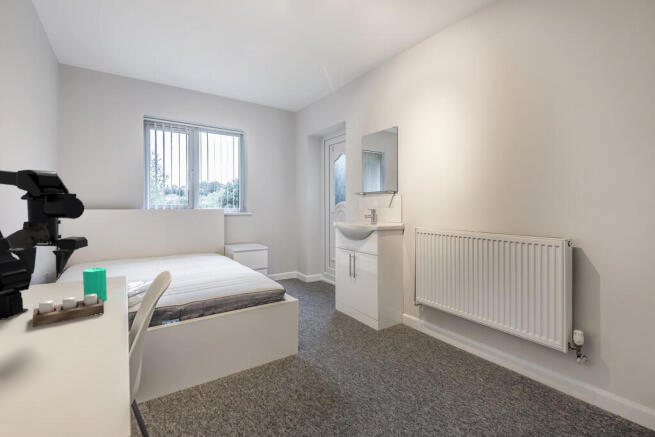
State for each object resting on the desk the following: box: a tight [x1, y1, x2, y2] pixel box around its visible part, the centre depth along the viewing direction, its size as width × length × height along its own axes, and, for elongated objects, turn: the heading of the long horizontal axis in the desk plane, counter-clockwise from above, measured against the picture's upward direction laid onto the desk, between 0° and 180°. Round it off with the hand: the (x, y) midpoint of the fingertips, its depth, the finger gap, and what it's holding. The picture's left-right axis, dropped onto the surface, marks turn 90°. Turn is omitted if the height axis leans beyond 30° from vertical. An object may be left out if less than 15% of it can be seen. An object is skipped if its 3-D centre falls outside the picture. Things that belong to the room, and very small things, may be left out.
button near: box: [38, 300, 55, 314], centre depth 83 cm, size 3×3×3 cm
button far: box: [83, 294, 97, 306], centre depth 89 cm, size 3×3×3 cm
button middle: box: [62, 296, 77, 310], centre depth 86 cm, size 3×3×3 cm
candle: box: [82, 264, 108, 303], centre depth 98 cm, size 6×6×12 cm
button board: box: [32, 298, 105, 328], centre depth 86 cm, size 15×8×3 cm, turn 132°
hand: (45, 273), depth 82 cm, fingers open, 7 cm apart
